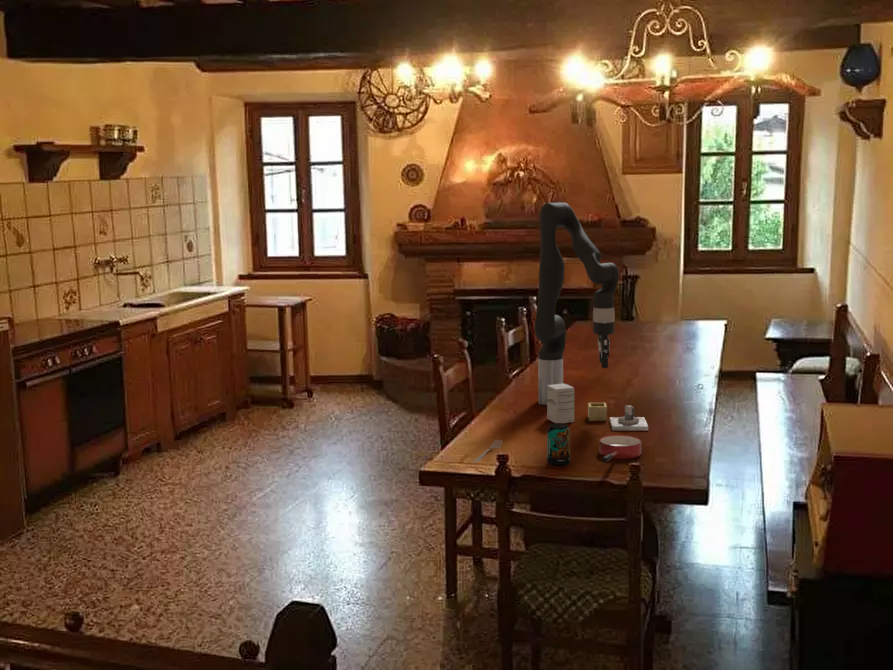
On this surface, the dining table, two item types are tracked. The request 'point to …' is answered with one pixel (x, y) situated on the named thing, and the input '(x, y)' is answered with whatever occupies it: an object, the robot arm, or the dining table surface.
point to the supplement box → (560, 403)
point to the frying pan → (619, 447)
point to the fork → (487, 451)
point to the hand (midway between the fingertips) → (603, 365)
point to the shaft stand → (628, 421)
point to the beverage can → (558, 444)
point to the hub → (597, 411)
